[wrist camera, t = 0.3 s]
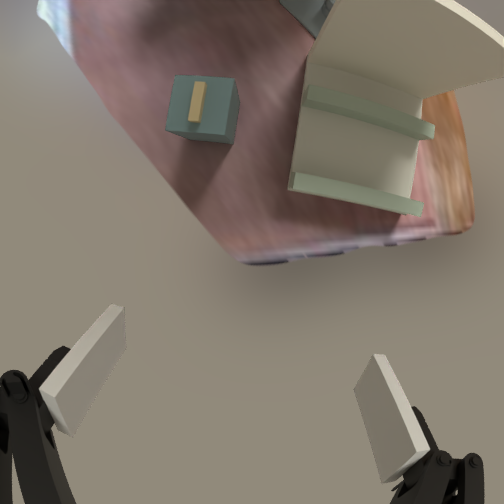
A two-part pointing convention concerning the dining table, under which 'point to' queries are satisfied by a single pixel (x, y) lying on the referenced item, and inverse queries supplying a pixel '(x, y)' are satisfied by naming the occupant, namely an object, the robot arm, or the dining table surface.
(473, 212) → the dining table surface
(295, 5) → the shower valve
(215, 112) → the teal block with bar
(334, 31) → the pale green rail stand
